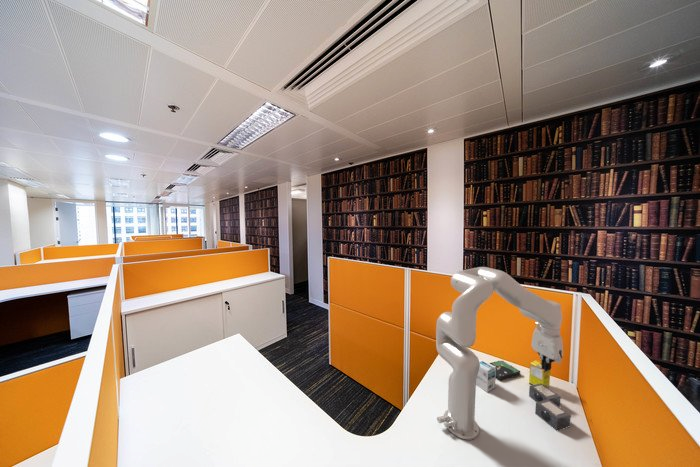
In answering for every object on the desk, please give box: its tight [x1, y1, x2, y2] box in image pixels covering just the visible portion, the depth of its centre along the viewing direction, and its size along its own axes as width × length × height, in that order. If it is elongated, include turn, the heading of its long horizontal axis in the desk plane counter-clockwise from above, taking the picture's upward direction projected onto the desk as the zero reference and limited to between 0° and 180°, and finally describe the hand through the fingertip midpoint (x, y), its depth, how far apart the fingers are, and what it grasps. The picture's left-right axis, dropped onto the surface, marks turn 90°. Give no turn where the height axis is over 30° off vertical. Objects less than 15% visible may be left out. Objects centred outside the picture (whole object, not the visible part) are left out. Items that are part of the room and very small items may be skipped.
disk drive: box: [488, 360, 521, 382], centre depth 121 cm, size 10×3×15 cm
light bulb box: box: [476, 357, 496, 393], centre depth 113 cm, size 11×7×11 cm, turn 28°
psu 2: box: [534, 399, 572, 432], centre depth 92 cm, size 7×8×5 cm
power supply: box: [528, 383, 562, 408], centre depth 101 cm, size 7×8×5 cm
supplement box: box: [528, 359, 551, 389], centre depth 111 cm, size 6×6×11 cm
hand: (545, 369), depth 101 cm, fingers closed
